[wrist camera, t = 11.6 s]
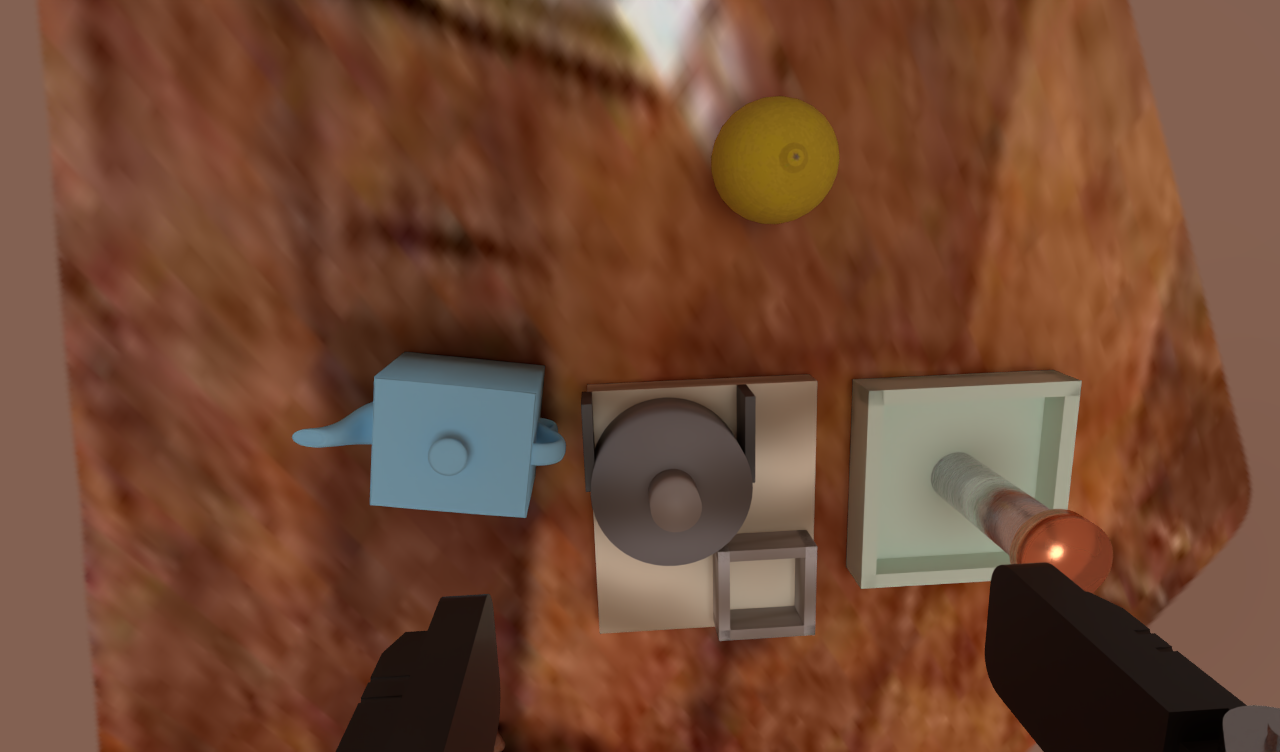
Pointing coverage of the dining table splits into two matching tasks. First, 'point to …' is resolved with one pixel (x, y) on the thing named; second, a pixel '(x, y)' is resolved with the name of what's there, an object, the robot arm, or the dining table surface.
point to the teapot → (451, 434)
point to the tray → (926, 432)
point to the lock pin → (1023, 521)
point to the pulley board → (767, 509)
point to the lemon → (775, 160)
